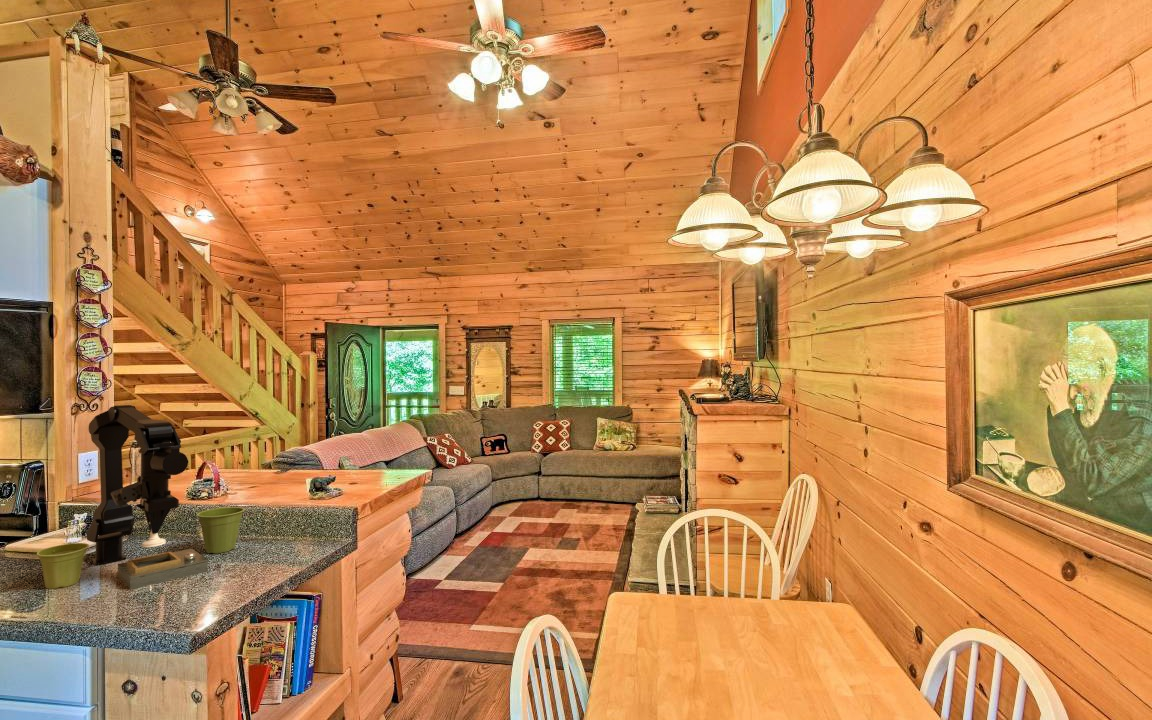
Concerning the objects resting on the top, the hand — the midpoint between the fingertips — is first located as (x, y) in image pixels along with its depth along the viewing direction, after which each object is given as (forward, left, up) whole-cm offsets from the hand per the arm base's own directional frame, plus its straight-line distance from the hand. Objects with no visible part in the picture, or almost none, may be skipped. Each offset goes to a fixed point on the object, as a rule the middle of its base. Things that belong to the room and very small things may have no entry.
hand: (153, 532), depth 141 cm
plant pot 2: (-10, +18, -11) cm, 23 cm away
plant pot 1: (-10, -16, -11) cm, 22 cm away
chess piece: (0, 0, -3) cm, 3 cm away
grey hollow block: (0, +2, -11) cm, 11 cm away
